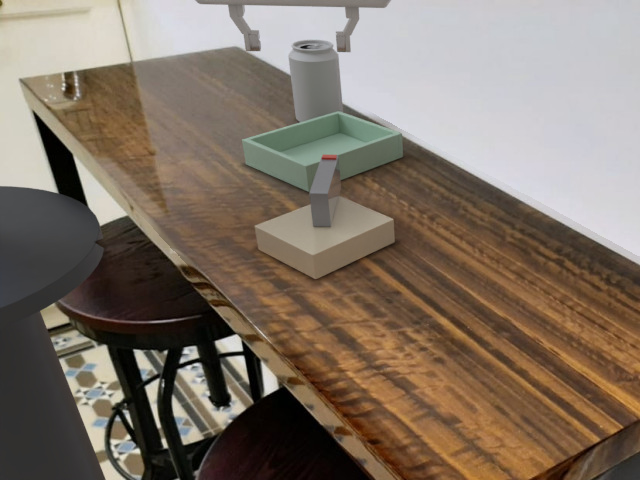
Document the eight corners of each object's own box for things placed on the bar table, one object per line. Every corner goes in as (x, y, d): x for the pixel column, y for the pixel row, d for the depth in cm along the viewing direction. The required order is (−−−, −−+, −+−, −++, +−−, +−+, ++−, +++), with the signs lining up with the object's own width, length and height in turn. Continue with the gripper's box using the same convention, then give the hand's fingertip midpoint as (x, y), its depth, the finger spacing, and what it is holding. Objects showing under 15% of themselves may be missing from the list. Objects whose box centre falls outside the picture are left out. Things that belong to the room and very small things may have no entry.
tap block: (315, 279, 80) (312, 255, 78) (258, 249, 85) (253, 225, 83) (395, 242, 88) (393, 218, 86) (338, 216, 92) (335, 193, 91)
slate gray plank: (331, 226, 83) (327, 191, 81) (313, 226, 83) (308, 191, 81) (341, 187, 92) (338, 154, 90) (325, 187, 92) (321, 153, 89)
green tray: (308, 192, 98) (305, 166, 96) (245, 164, 104) (241, 139, 102) (403, 157, 109) (402, 132, 107) (340, 133, 116) (338, 110, 113)
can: (311, 112, 123) (303, 34, 116) (352, 118, 121) (346, 40, 114) (287, 126, 117) (276, 45, 110) (329, 133, 116) (321, 52, 108)
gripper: (164, -103, 67) (193, 57, 75) (391, -93, 71) (395, 59, 79) (175, -110, 72) (201, 41, 80) (387, -100, 76) (391, 44, 84)
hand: (299, 50), depth 80 cm, fingers open, 8 cm apart
